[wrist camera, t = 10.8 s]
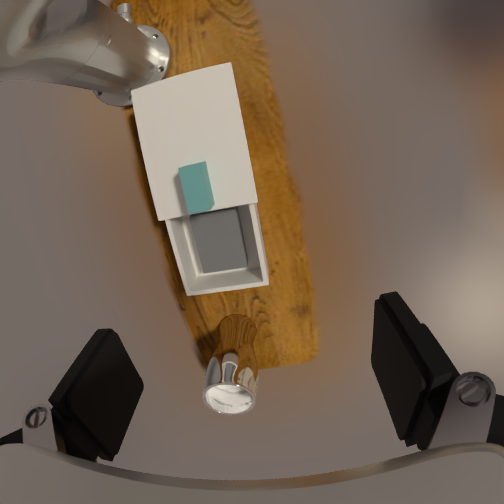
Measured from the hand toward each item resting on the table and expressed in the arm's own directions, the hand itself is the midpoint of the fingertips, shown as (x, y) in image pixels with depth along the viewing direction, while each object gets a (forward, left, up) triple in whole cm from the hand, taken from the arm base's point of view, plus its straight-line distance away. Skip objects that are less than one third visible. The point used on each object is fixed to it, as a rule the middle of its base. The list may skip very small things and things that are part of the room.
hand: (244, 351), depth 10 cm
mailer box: (+3, -6, -30) cm, 31 cm away
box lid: (-8, -6, -25) cm, 27 cm away
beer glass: (+21, -7, -31) cm, 38 cm away
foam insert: (+5, -6, -30) cm, 31 cm away
